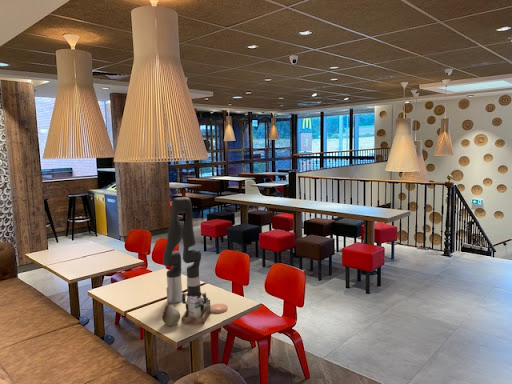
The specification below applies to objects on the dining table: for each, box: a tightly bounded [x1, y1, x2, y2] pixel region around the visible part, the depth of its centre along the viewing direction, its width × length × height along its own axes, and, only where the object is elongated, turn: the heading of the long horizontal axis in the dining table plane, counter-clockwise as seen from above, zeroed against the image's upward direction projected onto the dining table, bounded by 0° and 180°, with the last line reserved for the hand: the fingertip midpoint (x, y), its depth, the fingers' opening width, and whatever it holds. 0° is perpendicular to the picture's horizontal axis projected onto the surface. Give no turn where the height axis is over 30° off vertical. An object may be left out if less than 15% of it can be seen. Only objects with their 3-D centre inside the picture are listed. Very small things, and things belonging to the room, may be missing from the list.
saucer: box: [210, 303, 229, 314], centre depth 237 cm, size 12×12×1 cm
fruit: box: [161, 302, 181, 327], centre depth 218 cm, size 10×9×12 cm
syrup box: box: [186, 295, 203, 317], centre depth 224 cm, size 6×6×14 cm
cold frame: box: [180, 296, 212, 325], centre depth 225 cm, size 14×14×10 cm
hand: (195, 310), depth 224 cm, fingers closed on syrup box, 8 cm apart
